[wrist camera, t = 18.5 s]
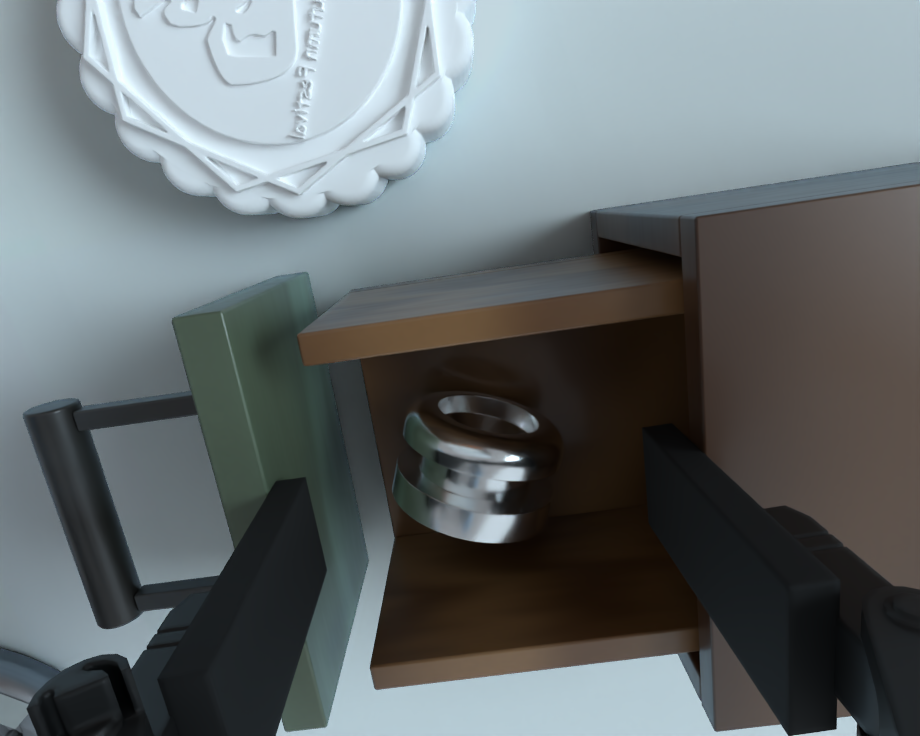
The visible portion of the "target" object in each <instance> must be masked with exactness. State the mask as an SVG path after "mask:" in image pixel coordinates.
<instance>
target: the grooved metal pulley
mask: <svg viewBox="0 0 920 736" xmlns="http://www.w3.org/2000/svg"><path fill="white" fill-rule="evenodd" d="M403 436H404V438H405V440H406V442H407V443H408V444H409V445H410V446H409V447H407V448H405V449H404V450H403V451H402V452H401V453H400V454H399V456H398V458H397V463H396V468H395V474H394V479H393V485H392V493H393V496H394V499H395V500H396V502H397V504H398V505H399V506H400V507H401V509H402V510H403V511H404V512H405V513H407V514H408V515H409V516H410V517H412V518H413V519H414V520H416V521H417V522H419V523H421V524H422V525H424V526H426V527H428V528H430V529H432V530H435V531H437V532H440V533H442V534H445V535H448V536H451V537H455V538H458V539H462V540H467V541H473V542H480V543H495V544H498V543H512V542H518V541H522V540H525V539H528V538H531V537H533V536H534V535H536V534H538V533H539V532H540V531H541V530H542V529H543V528H544V526H545V524H546V521H547V517H548V513H549V509H550V506H551V502H552V498H553V487H552V484H551V482H550V481H549V479H548V478H547V477H549V476H551V475H553V474H554V473H556V472H557V471H558V470H559V468H560V467H561V463H562V460H563V456H564V441H563V438H562V435H561V433H560V431H559V430H558V428H557V427H556V426H555V425H554V424H553V423H552V422H551V421H550V420H549V419H548V418H546V417H545V416H544V415H542V414H541V413H539V412H537V411H535V410H534V409H532V408H530V407H527V406H525V405H523V404H520V403H518V402H515V401H512V400H509V399H506V398H502V397H498V396H494V395H490V394H484V393H478V392H470V391H441V392H435V393H431V394H428V395H425V396H423V397H421V398H420V399H418V400H417V401H415V402H414V403H413V404H412V405H411V406H410V408H409V409H408V411H407V413H406V415H405V419H404V424H403Z"/></svg>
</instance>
